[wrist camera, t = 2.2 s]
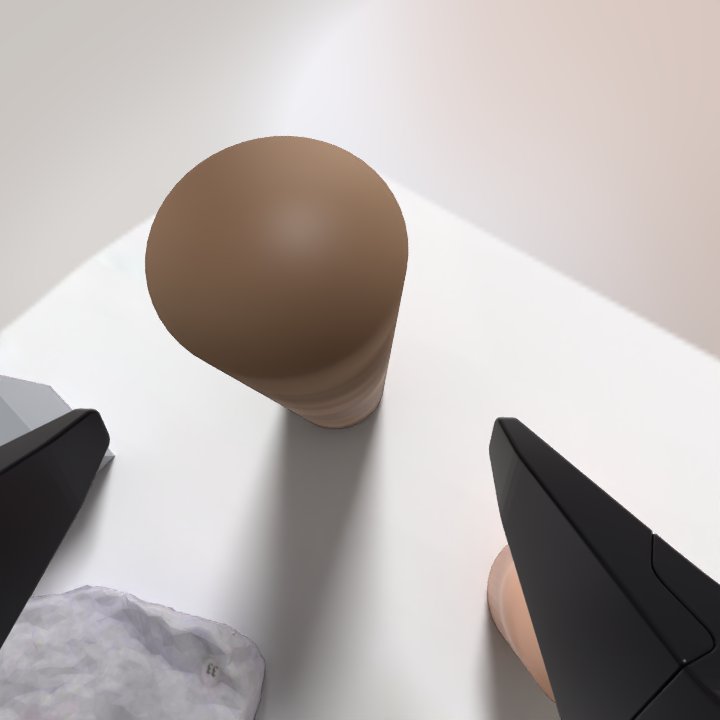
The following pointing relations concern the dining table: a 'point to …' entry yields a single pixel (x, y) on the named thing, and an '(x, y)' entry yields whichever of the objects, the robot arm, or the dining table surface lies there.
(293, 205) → the walnut post
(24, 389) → the grey faceted polyhedron
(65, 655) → the stone block
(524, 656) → the peach rounded knob part
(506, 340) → the dining table surface
